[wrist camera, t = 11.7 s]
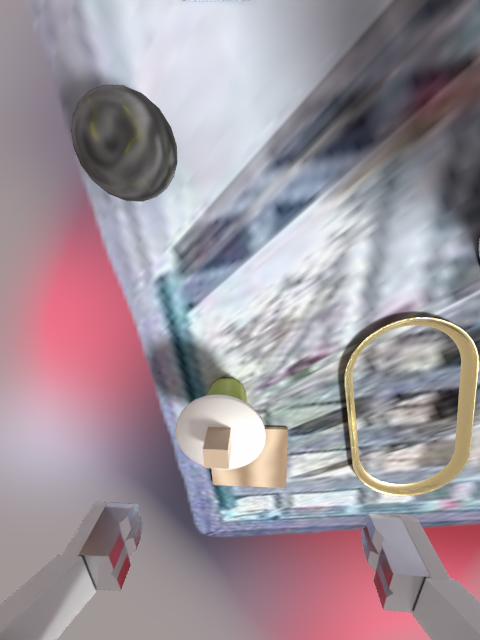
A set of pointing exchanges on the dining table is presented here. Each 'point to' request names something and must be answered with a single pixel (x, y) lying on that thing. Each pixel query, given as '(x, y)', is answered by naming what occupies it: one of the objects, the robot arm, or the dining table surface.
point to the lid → (220, 432)
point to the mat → (260, 464)
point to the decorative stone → (124, 143)
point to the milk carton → (215, 0)
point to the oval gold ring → (463, 418)
